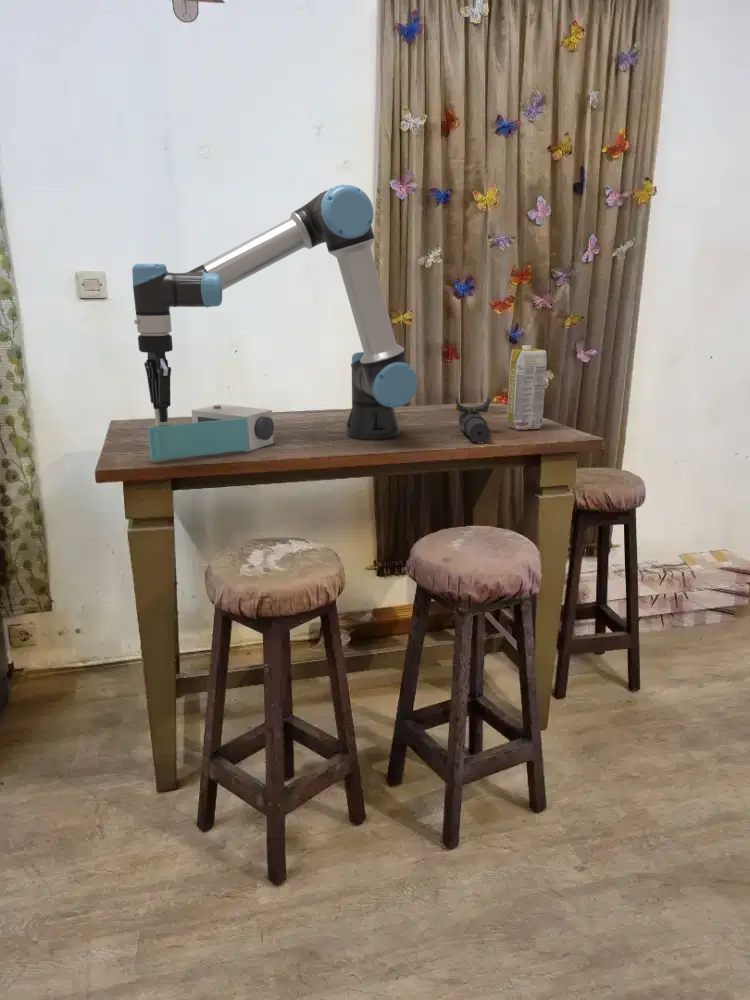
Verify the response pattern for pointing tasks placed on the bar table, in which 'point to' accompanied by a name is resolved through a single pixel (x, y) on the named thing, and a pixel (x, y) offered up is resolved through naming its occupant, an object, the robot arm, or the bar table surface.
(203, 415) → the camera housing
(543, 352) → the juice carton
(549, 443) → the bar table surface
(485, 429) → the laser sight
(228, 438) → the side door
